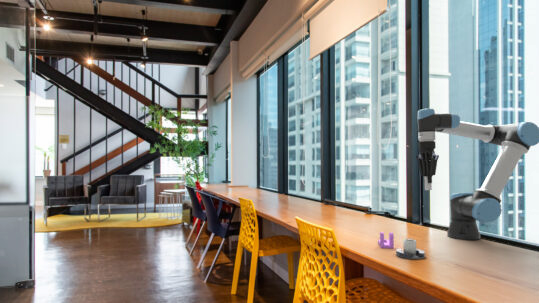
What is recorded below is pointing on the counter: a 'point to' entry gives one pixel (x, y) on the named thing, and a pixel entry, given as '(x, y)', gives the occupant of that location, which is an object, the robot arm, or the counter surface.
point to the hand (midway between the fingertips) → (428, 189)
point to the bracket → (386, 241)
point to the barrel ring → (410, 254)
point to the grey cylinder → (409, 246)
